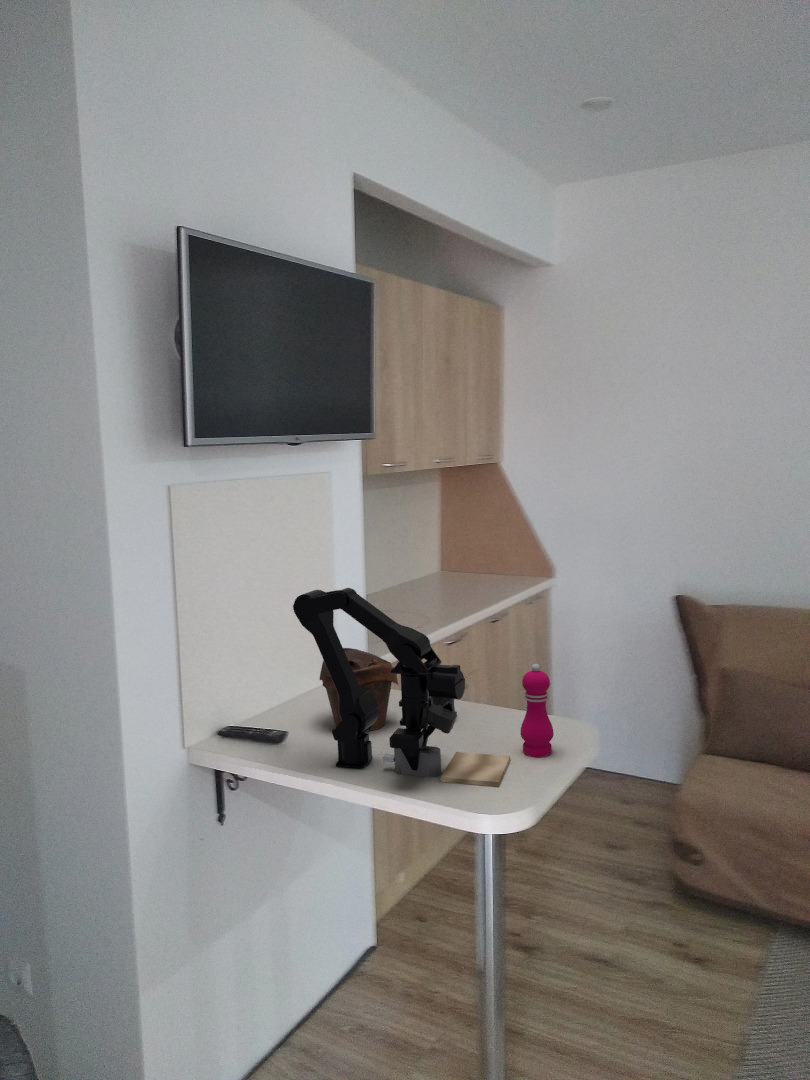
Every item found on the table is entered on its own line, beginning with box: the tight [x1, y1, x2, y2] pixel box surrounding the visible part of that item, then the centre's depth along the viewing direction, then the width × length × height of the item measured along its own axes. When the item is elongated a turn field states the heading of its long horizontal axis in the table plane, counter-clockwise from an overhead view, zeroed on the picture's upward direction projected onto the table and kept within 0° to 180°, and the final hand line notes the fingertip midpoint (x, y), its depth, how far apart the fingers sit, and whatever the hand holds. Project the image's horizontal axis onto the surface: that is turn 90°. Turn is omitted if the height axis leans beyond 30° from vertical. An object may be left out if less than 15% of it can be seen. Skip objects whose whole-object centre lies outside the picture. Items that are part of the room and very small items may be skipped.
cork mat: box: [440, 751, 511, 788], centre depth 172 cm, size 12×14×1 cm
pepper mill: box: [520, 663, 554, 758], centre depth 180 cm, size 7×7×20 cm
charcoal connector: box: [382, 745, 442, 778], centre depth 172 cm, size 12×4×5 cm, turn 73°
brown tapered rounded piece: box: [319, 647, 399, 732], centre depth 202 cm, size 18×20×18 cm
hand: (417, 766), depth 172 cm, fingers closed on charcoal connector, 4 cm apart
